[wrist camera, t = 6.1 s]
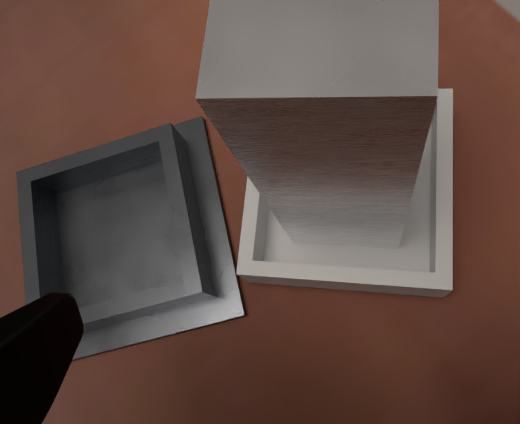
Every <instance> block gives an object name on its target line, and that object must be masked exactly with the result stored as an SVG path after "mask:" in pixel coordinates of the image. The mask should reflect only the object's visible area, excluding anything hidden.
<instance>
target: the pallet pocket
mask: <svg viewBox="0 0 520 424" xmlns="http://www.w3.org/2000/svg"><path fill="white" fill-rule="evenodd" d="M16 174H17V188H18V202H19V216H20V230H21V244H22V259H23V273H24V287H25V301H26V305H27V304H29V303H31V302H33V301H34V300H36V299H38V298H40V297H42V296H44V295H46V294H48V293H50V292H65V293H70V294H72V295H73V296H74V297H75V299H76V302H77V305H78V308H79V311H80V314H81V317H82V320H83V324H84V332H83V336H82V339H81V341H80V343H79V346H78V348H77V350H76V352H75V355H74V357H73V359H72V361H74V360H77V359H81V358H85V357H89V356H93V355H97V354H101V353H104V352H108V351H112V350H116V349H120V348H124V347H128V346H132V345H135V344H139V343H143V342H147V341H151V340H155V339H159V338H163V337H166V336H170V335H174V334H178V333H182V332H186V331H190V330H193V329H197V328H201V327H205V326H209V325H213V324H217V323H221V322H224V321H228V320H232V319H236V318H240V317H244V316H246V312H245V307H244V302H243V298H242V293H241V288H240V284H239V279H238V275H237V274H236V272H237V270H236V265H235V260H234V256H233V251H232V246H231V241H230V237H229V232H228V227H227V223H226V218H225V213H224V209H223V204H222V199H221V195H220V190H219V185H218V181H217V176H216V171H215V167H214V162H213V157H212V152H211V148H210V143H209V138H208V134H207V129H206V124H205V120H204V118H203V117H202V116H201V117H198V118H195V119H192V120H189V121H185V122H182V123H179V124H176V125H172V124H171V123H169V124H166V125H162V126H159V127H156V128H153V129H150V130H147V131H144V132H140V133H137V134H134V135H131V136H128V137H125V138H122V139H119V140H115V141H112V142H109V143H106V144H103V145H100V146H97V147H94V148H90V149H87V150H84V151H81V152H78V153H75V154H72V155H68V156H65V157H62V158H59V159H56V160H53V161H50V162H47V163H43V164H40V165H37V166H34V167H31V168H28V169H25V170H21V171H18V172H16Z"/></svg>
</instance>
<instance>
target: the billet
mask: <svg viewBox="0 0 520 424" xmlns="http://www.w3.org/2000/svg"><path fill="white" fill-rule="evenodd" d="M438 30H439V0H210V4H209V11H208V18H207V24H206V31H205V38H204V44H203V51H202V57H201V64H200V71H199V77H198V84H197V90H196V97H195V99H196V100H197V102H198V103H199V105H200V106H201V108H202V109H203V111H204V112H205V114H206V115H207V117H208V118H209V120H210V121H211V123H212V124H213V126H214V127H215V128H216V130H217V131H218V133H219V134H220V136H221V137H222V139H223V140H224V142H225V143H226V145H227V146H228V148H229V149H230V151H231V152H232V154H233V155H234V157H235V158H236V160H237V161H238V162H239V164H240V165H241V167H242V168H243V170H244V171H245V173H246V174H247V176H248V177H249V179H250V180H251V182H252V183H253V185H254V186H255V188H256V189H257V191H258V192H259V194H260V195H261V196H262V198H263V199H264V201H265V202H266V204H267V205H268V207H269V208H270V210H271V211H272V213H273V214H274V216H275V217H276V219H277V220H278V222H279V223H280V225H281V226H282V227H283V229H284V230H285V232H286V233H287V235H288V236H289V238H290V239H291V241H292V242H293V243H305V244H323V245H341V246H358V247H376V248H393V249H399V245H400V241H401V237H402V233H403V229H404V226H405V222H406V218H407V214H408V210H409V206H410V202H411V198H412V194H413V191H414V187H415V183H416V179H417V175H418V171H419V167H420V163H421V159H422V155H423V152H424V148H425V144H426V140H427V136H428V132H429V128H430V124H431V120H432V117H433V113H434V109H435V105H436V101H437V97H438Z"/></svg>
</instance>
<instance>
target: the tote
mask: <svg viewBox="0 0 520 424" xmlns="http://www.w3.org/2000/svg"><path fill="white" fill-rule="evenodd" d="M236 274H237V275H238V276H240V277H241V278H243V279H245V280H246V281H248V282H249V283H259V284H272V285H285V286H298V287H311V288H324V289H337V290H350V291H363V292H376V293H389V294H402V295H415V296H428V297H441V298H444V297H445V296H446V295H447V294H448V293H450V292H451V291H452V283H453V89H438V97H437V101H436V105H435V109H434V113H433V117H432V120H431V124H430V128H429V132H428V136H427V140H426V144H425V148H424V152H423V155H422V159H421V163H420V167H419V171H418V175H417V179H416V183H415V187H414V191H413V194H412V198H411V202H410V206H409V210H408V214H407V218H406V222H405V226H404V229H403V233H402V237H401V241H400V245H399V249H393V248H376V247H358V246H341V245H323V244H305V243H293V242H292V241H291V239H290V238H289V236H288V235H287V233H286V232H285V230H284V229H283V227H282V226H281V225H280V223H279V222H278V220H277V219H276V217H275V216H274V214H273V213H272V211H271V210H270V208H269V207H268V205H267V204H266V202H265V201H264V199H263V198H262V196H261V195H260V194H259V192H258V191H257V189H256V188H255V186H254V185H253V183H252V182H251V180H250V179H249V177H247V185H246V194H245V203H244V211H243V220H242V229H241V237H240V246H239V255H238V263H237V272H236Z"/></svg>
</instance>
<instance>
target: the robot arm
mask: <svg viewBox="0 0 520 424" xmlns="http://www.w3.org/2000/svg"><path fill="white" fill-rule="evenodd" d="M83 332H84V324H83V320H82V317H81V314H80V311H79V308H78V305H77V302H76V299H75V297H74V296H73V295H72V294H70V293H65V292H50V293H48V294H46V295H44V296H42V297H40V298H38V299H36V300H34V301H33V302H31V303H29V304H27V305H25V306H23V307H21V308H19V309H17V310H15V311H13V312H11V313H9V314H7V315H5V316H3V317H1V318H0V424H42V422H43V420H44V419H45V417H46V415H47V413H48V411H49V409H50V408H51V406H52V404H53V401H54V399H55V397H56V395H57V393H58V391H59V389H60V386H61V384H62V382H63V380H64V377H65V375H66V373H67V371H68V368H69V366H70V364H71V362H72V359H73V357H74V355H75V352H76V350H77V348H78V346H79V343H80V341H81V339H82V336H83Z"/></svg>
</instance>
